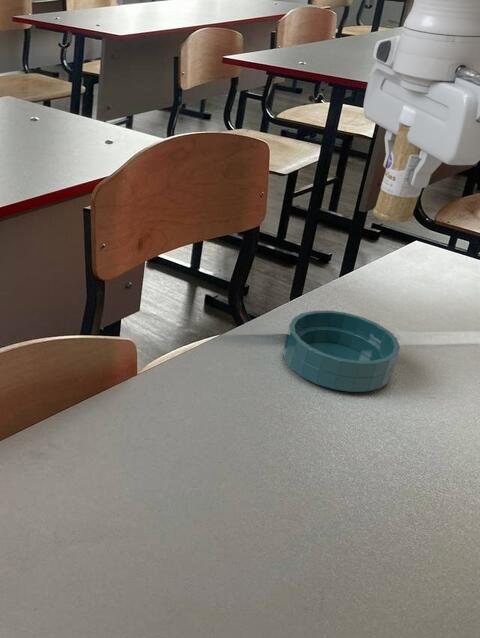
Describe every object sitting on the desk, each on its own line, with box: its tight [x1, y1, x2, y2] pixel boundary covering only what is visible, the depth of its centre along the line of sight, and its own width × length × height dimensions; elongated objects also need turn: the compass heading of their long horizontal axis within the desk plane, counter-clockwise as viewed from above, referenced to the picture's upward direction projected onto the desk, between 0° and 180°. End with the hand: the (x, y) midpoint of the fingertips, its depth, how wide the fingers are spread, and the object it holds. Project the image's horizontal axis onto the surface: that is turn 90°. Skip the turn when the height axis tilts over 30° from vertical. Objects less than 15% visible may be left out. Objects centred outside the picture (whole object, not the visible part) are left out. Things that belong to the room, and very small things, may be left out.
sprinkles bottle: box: [372, 106, 423, 224], centre depth 90 cm, size 5×5×14 cm
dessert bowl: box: [282, 309, 401, 393], centre depth 92 cm, size 12×12×4 cm
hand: (403, 177), depth 91 cm, fingers closed on sprinkles bottle, 4 cm apart
